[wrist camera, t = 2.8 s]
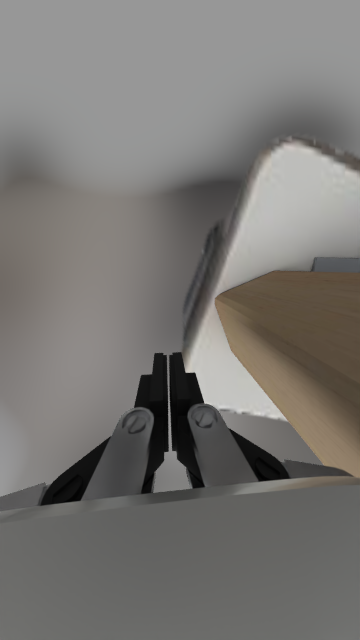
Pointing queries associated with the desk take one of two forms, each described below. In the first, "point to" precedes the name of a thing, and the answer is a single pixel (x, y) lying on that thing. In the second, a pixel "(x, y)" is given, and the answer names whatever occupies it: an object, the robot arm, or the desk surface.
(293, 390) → the wooden block
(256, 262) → the desk surface
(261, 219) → the desk surface
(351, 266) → the mat
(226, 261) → the desk surface
